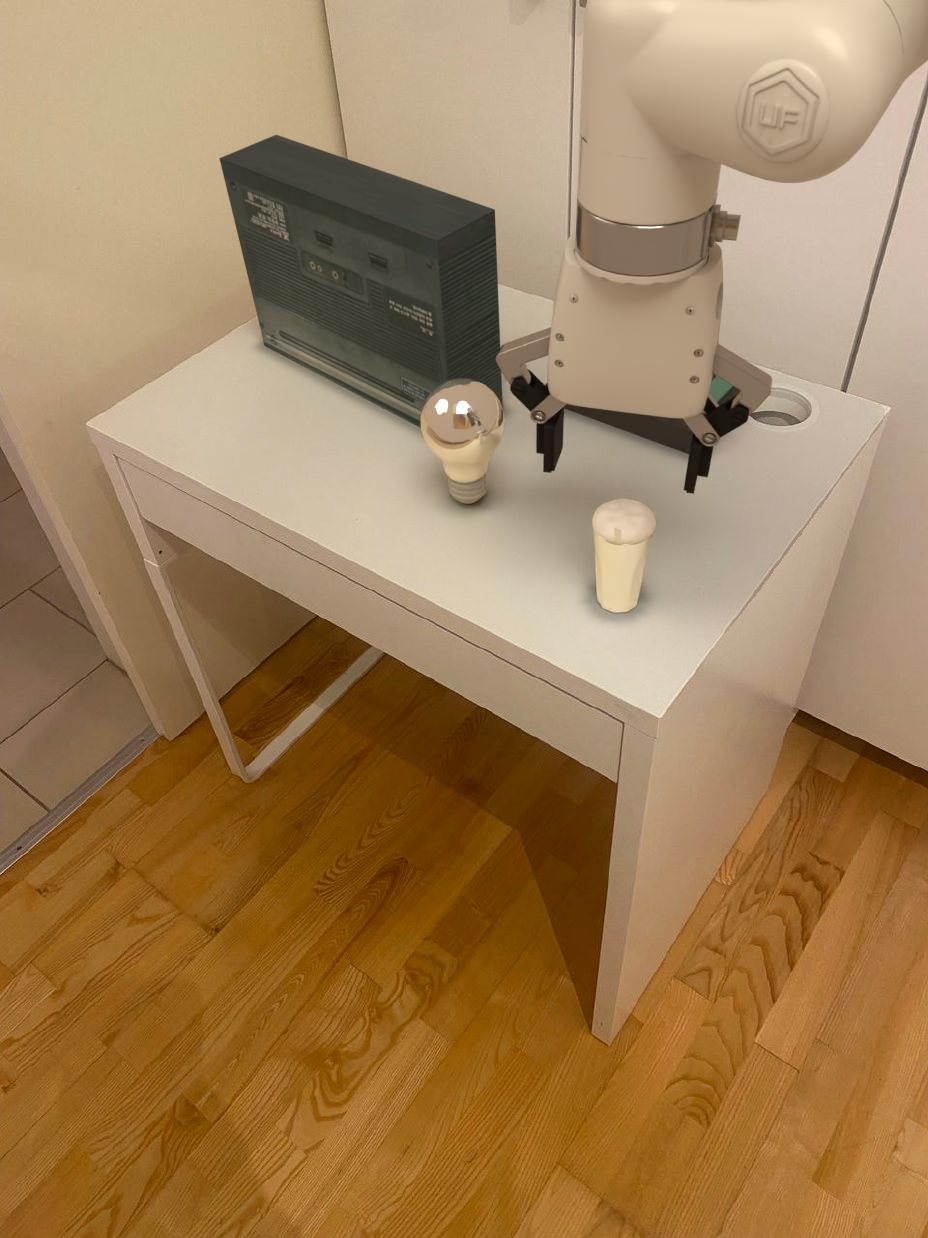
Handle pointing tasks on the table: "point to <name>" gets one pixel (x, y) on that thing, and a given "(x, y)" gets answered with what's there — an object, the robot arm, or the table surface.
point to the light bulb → (463, 433)
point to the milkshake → (621, 551)
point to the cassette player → (366, 273)
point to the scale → (658, 419)
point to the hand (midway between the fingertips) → (621, 470)
